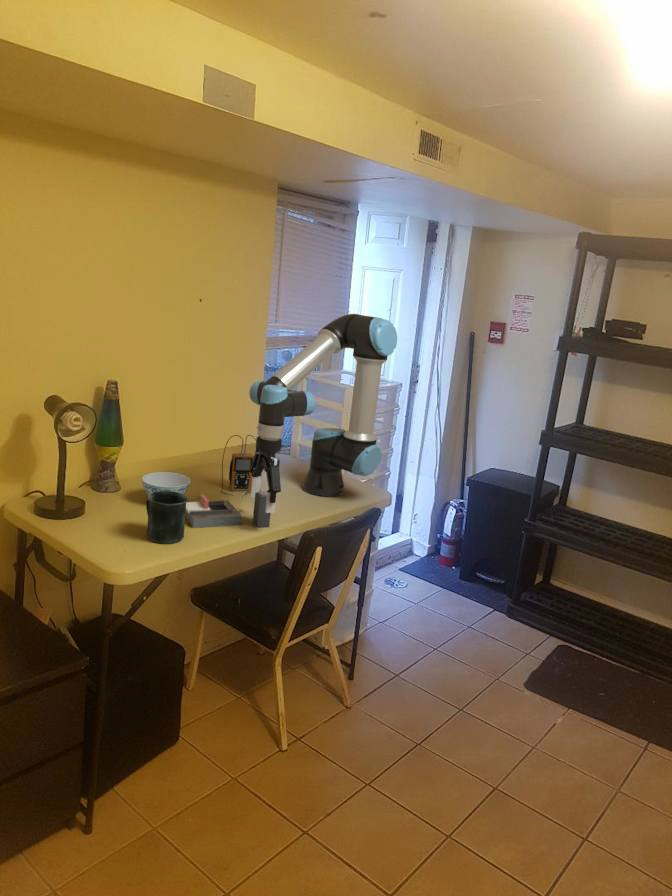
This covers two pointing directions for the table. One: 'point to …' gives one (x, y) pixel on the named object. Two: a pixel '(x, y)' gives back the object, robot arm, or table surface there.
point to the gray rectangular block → (261, 510)
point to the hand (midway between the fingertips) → (261, 504)
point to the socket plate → (215, 515)
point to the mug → (166, 516)
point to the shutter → (198, 505)
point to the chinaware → (165, 482)
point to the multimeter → (240, 470)
